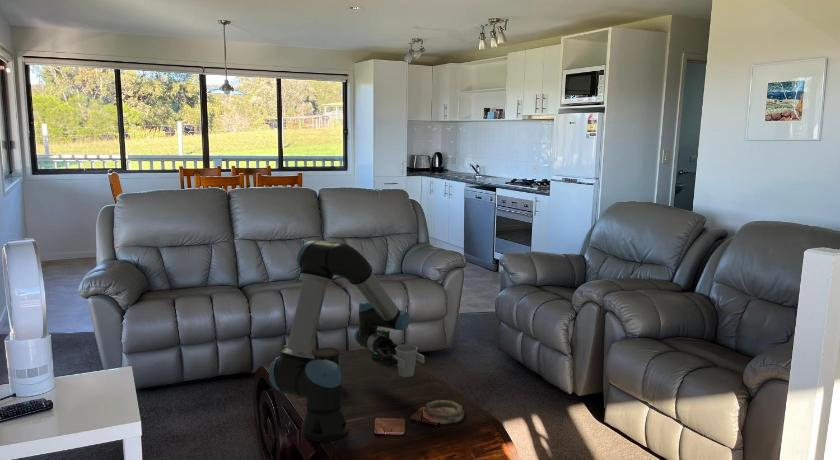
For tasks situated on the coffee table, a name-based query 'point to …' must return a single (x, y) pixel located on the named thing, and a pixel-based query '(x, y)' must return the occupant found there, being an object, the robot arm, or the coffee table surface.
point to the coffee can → (327, 355)
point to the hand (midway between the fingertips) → (413, 362)
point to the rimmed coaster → (451, 409)
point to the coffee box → (385, 333)
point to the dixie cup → (407, 359)
